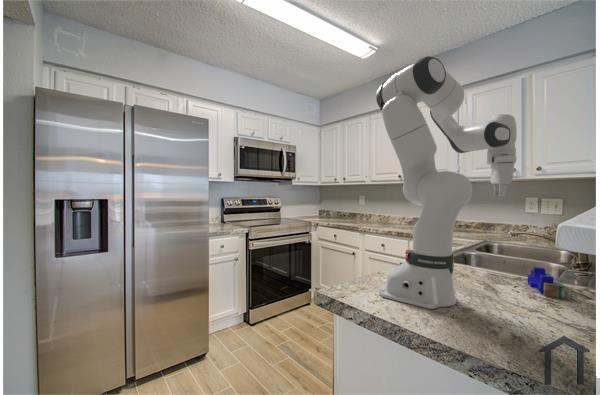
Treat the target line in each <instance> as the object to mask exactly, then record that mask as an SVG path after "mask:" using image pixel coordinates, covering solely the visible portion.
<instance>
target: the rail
mask: <svg viewBox="0 0 600 395" xmlns="http://www.w3.org/2000/svg"><path fill="white" fill-rule="evenodd" d="M528 273H529V274H528V275H533V269H532V268H529V272H528ZM545 275H546V276H552V277H553V278H554V281H553V284H552V283H544V290H543V294H542V295H543V296H544V297H547V298H548V297H549V298H554V299H562V300H565V292H566V286H565V285H564V284H563V283H562V282H560V281H559V280H558V279H557V278H555V277H554V276H553V275H551V274H550V273H549V272H548V271H547V270H545Z"/></svg>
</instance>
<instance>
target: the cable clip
mask: <svg viewBox="0 0 600 395" xmlns="http://www.w3.org/2000/svg"><path fill="white" fill-rule="evenodd" d="M545 271H546V268H544V267H537V266H533V275H529V274H527V284H528V286H529V287H530V288H535V289H536V290H537V291H538V292H539V293H540V294H541V295H543V290H544V283H552V284H553V281H554V278H555V277H554V276H553V275H552V276H553V277H554V278H553V277H552V276H546V275H545Z"/></svg>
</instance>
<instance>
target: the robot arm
mask: <svg viewBox="0 0 600 395" xmlns="http://www.w3.org/2000/svg"><path fill="white" fill-rule="evenodd" d="M375 98H376V103H377V106H378V108H380V110H381V115H382V120H383V123H384V126H385V130H386V133H387V135H388V136H387V137H388V138H389V140H390V143H391V146H392V147H393V149H394V151H395V154H396V156H397V159H398V160H399V163H400V164H399V165H400V167H401V171H402V178H403V184H402V193H403V196H404V198H405V199H406V200H407V201H409V202H410V203H412V204H413V205H416V206H420V207H421V208H422V209H421V213H420V216H419V218H418V220H417V222H416V223H415V224H414V225H413V229H412V231H413V232H412V249H411V248H407V249H405V261H404V262H402V263H401V264H399V265H397V266H396V267H394V268H393V269H391V270H390V271H389V273H388V275H387V277H386V281H385V282H383V283H382V284H380V287H379V289H378V293H379V295H380V296H381V297H382V298H386V299H390V300H393V301H398V302H401V303H405V304H410V305H413V306H418V307H421V308H426V309H428V310H434V309H438V308H441V307H442V308H443V307H451V306H454V305H455V304H457V302H458V301H457V296H456V292H455V287H454V280H453V273H454V268H455V266H454V265H455V259H454V254H453V241H454V240H453V237H454V236H453V235H454V228H455V225H456V221H457V219H458V216H459V214H460V212H461V210H462V209H463V207H465V206H466V205H467V204H468V203H469V202H470V201H471V199H472V196H473V189H474V188H473V185H472V182H471V180H470V179H469V178H468V177H467V176H466V175H464V174H462V173H459V172H455V171H449V170H444V171H443V170H442V171H438V169H437V167H436V162H435V155H436V153H437V150H438V149H437V147H438V146H437V144H436V141H435V139H434V137H433V134H432V133H431V130H430V127H429V125H428V123H427V121H426V118H425V117H424V115H423V113H422V111H421V109H420V108H419V106H418V103H420V102H421V101H422V103H423V104H424V105H426V106H427V108H428V109H429V116H430V117H431V119H432V121H433V123H434V124H435V125H436V127H437V128H438V129H439V130H440V132H442V134H443V135H444V137H445V138H446V139H447V140H448V142H449V144H450V147H451V148H452V149H453V150H454V151H455V152H456V153H458V154H464V153H465V154H466V153H469V152H474V151H475V152H477V151H484V150H487V152H486V164H487V165H490V184H492V185H493V189H494V196H499V197H506V193H507V188H508V185H509V184H512V181H513V178H514V177H513V176H514V170H515V164H516V163H517V149H516V141H517V121H516V118H515V117H514V116H513V115H511V114H506V113H505V114H503V113H502V114H496V115H493V116H491V118H490V119H489V120H488V121H484V122H482V123H479V124H478V123H477V124H474V125H468V126H466V125H465V126H464V125H463V126H462V125H460V124H459V123H458V122H457V120H456V119H455V117H453V115H454V114H456V113H457V112H458V110H459V109H460V108H461V107H462V105H463V103H464V100H465V90H464V88H463V86H462V84H460V83H459V82H458V80H457V79H455V78H454V76H453V75H451V74H450V73H449V72H448V71H446V68H445V66H444V64H443V62H441V60H440V59H438V58H437V57H434V56H431V55H430V56H429V55H427V56H424V57H422V58H419V59H417V60H416V61H414V63H412V64H410V65H408V66H406V67H405V68H403V69H401V70H399V71H397V72H395V73H394V74H393V75H392V76H391V77H389V79H387V80H386V81H384V82H383V83H382V84H381V85H380V86H379V87H378V88H377V90H376V95H375Z"/></svg>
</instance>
